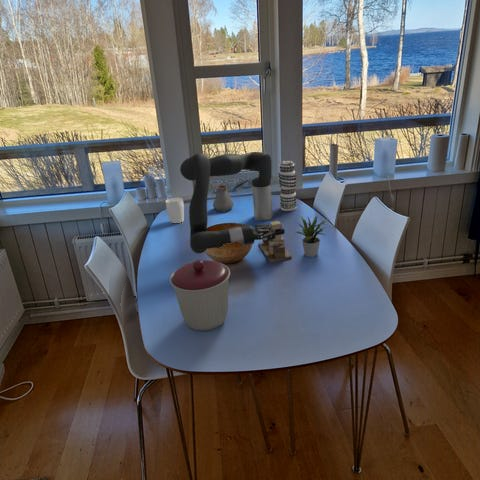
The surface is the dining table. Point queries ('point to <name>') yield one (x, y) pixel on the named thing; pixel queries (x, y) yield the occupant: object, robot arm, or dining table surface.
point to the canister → (202, 293)
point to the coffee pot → (224, 198)
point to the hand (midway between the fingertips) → (282, 229)
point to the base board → (275, 252)
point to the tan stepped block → (278, 238)
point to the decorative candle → (287, 186)
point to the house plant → (311, 236)
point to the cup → (175, 209)
